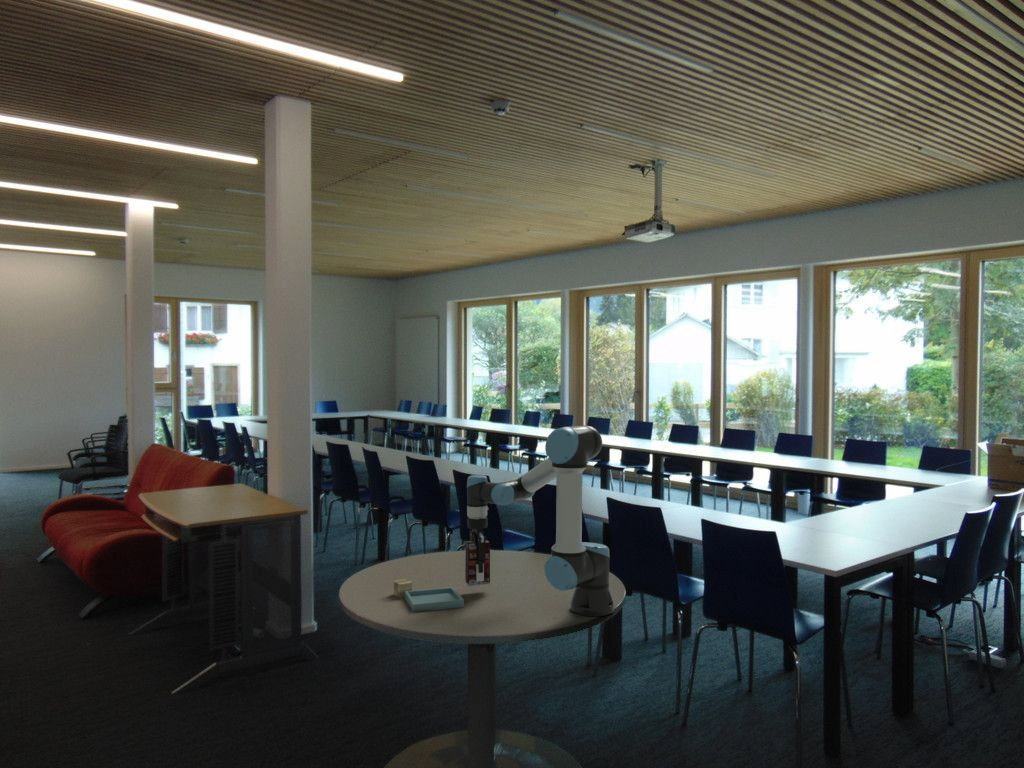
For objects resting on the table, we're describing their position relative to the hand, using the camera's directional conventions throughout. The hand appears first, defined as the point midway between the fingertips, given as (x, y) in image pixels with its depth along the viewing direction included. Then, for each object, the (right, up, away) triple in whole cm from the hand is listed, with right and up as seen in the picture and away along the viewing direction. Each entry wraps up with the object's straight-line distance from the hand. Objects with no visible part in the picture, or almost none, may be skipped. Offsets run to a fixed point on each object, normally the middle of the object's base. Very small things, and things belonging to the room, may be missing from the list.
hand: (478, 579), depth 280 cm
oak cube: (-28, -5, -3) cm, 28 cm away
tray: (-15, -5, -12) cm, 20 cm away
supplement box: (0, -2, 0) cm, 2 cm away
